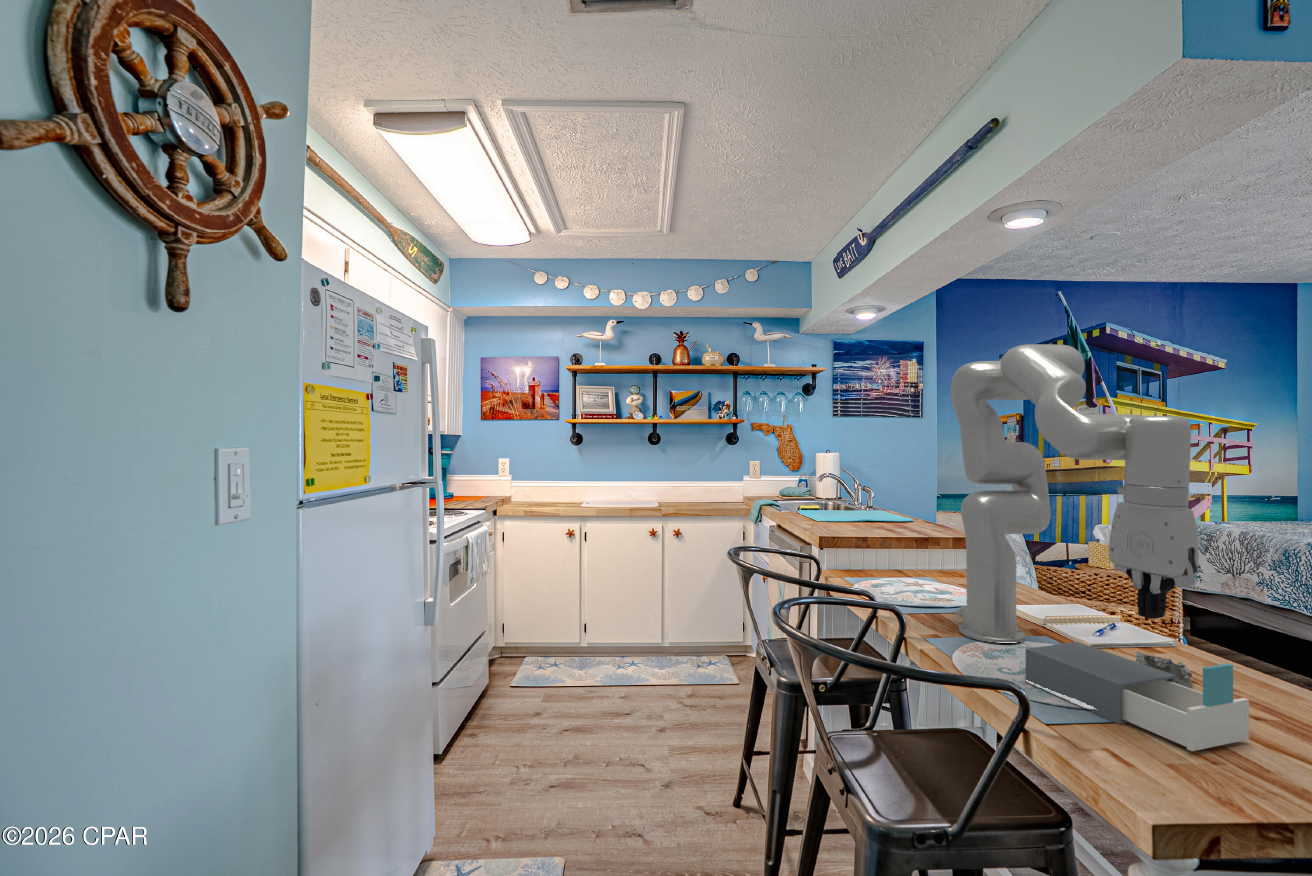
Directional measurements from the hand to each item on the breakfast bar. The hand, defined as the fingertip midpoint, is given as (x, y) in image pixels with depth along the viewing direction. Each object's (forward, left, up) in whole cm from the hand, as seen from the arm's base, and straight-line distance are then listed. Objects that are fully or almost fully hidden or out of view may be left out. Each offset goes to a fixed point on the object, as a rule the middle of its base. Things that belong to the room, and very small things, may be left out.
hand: (1151, 616), depth 90 cm
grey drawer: (0, 0, -16) cm, 16 cm away
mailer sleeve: (-8, 0, -16) cm, 18 cm away
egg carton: (-10, +17, -16) cm, 26 cm away
